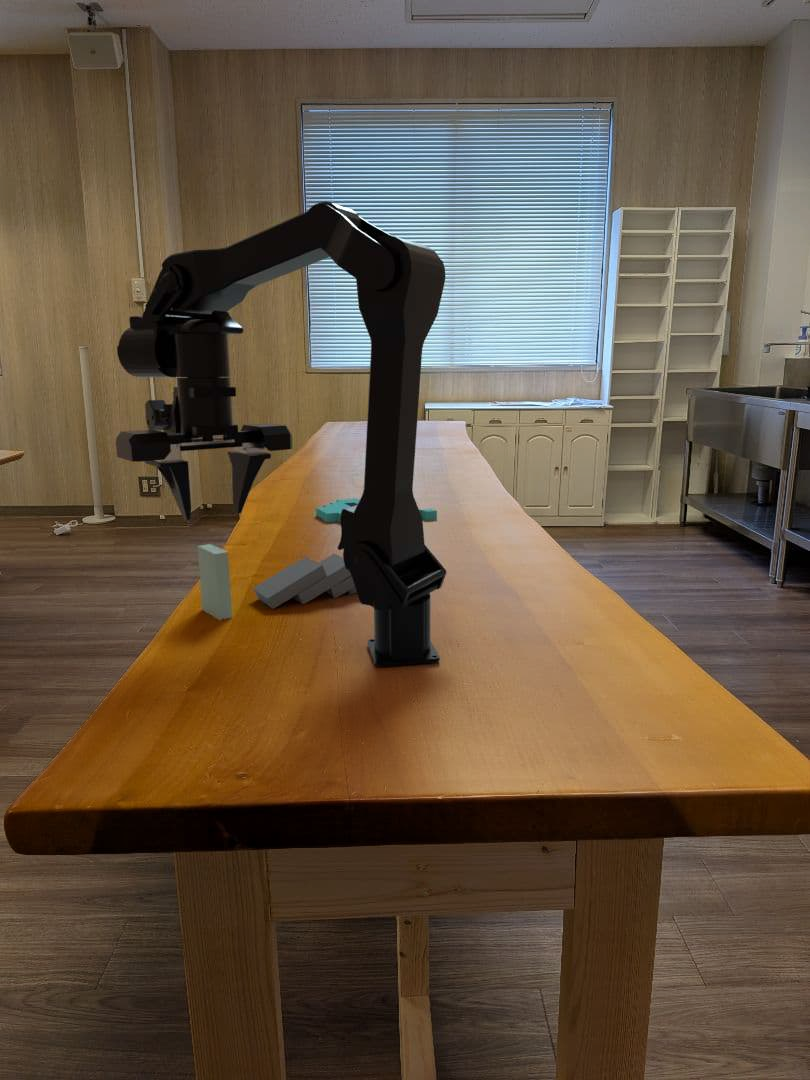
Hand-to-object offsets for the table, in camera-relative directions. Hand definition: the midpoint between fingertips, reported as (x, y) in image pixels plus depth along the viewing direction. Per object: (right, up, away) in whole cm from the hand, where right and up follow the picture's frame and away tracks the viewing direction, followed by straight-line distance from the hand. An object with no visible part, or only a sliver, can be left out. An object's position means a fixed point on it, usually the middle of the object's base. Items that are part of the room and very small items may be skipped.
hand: (212, 516), depth 84 cm
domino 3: (+12, -9, +11) cm, 18 cm away
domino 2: (+8, -10, +8) cm, 15 cm away
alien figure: (+15, +2, +62) cm, 63 cm away
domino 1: (+4, -10, +6) cm, 13 cm away
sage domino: (0, -12, +3) cm, 12 cm away
